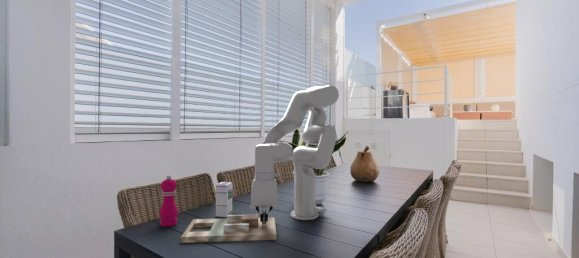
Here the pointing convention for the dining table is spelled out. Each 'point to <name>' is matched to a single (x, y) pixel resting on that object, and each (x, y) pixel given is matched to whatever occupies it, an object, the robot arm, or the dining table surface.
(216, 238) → the trap board
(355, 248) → the dining table surface
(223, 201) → the syrup box
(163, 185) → the pepper mill
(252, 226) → the walnut block
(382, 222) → the dining table surface
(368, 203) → the dining table surface
